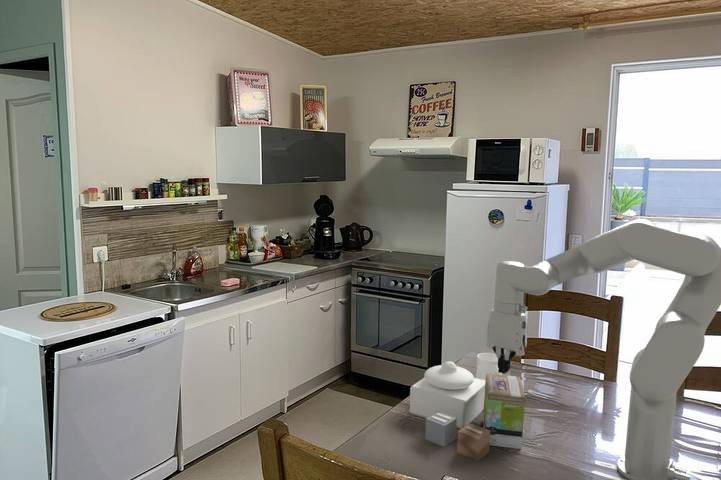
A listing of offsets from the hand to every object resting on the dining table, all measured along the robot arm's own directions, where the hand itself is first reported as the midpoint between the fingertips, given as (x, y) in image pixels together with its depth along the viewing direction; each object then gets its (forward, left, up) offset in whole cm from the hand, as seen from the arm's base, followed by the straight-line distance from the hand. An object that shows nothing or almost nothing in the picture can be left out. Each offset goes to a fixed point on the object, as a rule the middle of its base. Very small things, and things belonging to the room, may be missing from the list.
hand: (503, 371), depth 145 cm
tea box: (0, 0, -18) cm, 18 cm away
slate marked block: (+11, +14, -18) cm, 25 cm away
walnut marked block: (+1, +14, -18) cm, 23 cm away
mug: (+17, -26, -18) cm, 36 cm away
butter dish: (+18, -3, -19) cm, 26 cm away
